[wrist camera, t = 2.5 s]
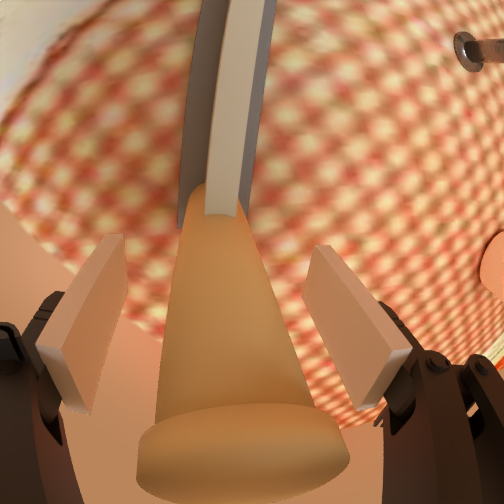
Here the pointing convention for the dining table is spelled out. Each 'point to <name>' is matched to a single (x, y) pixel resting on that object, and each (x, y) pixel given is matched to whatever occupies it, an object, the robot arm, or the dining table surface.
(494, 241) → the potion bottle
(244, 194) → the strip
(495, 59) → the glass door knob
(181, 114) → the dining table surface
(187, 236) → the slotted fence panel
